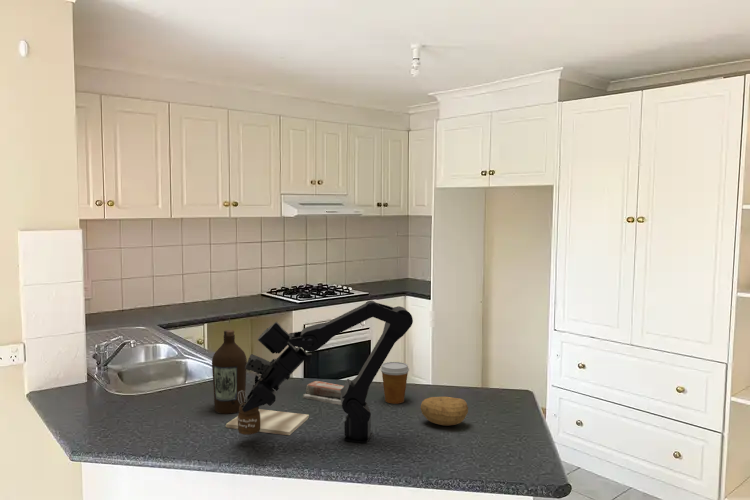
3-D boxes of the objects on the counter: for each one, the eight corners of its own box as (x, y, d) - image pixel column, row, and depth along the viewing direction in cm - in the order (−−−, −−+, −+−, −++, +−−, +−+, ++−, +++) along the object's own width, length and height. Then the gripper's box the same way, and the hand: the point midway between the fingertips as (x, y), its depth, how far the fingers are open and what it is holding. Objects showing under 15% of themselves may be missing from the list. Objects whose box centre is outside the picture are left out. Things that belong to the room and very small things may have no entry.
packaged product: (301, 385, 189) (317, 377, 198) (301, 399, 189) (317, 391, 198) (348, 393, 181) (363, 384, 190) (348, 408, 181) (362, 398, 190)
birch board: (308, 418, 171) (308, 414, 171) (289, 435, 157) (289, 432, 157) (249, 411, 176) (249, 408, 176) (225, 427, 163) (225, 424, 163)
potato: (422, 416, 173) (423, 390, 172) (469, 420, 169) (469, 394, 169) (417, 428, 163) (417, 401, 163) (466, 433, 160) (466, 405, 159)
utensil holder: (241, 426, 155) (240, 383, 154) (263, 426, 154) (263, 384, 154) (235, 435, 149) (234, 390, 148) (258, 435, 149) (258, 390, 148)
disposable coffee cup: (414, 402, 186) (415, 366, 185) (391, 407, 180) (391, 370, 180) (397, 394, 194) (397, 359, 193) (374, 399, 188) (374, 364, 187)
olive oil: (219, 402, 184) (218, 327, 182) (251, 403, 183) (250, 327, 182) (207, 414, 173) (206, 334, 172) (241, 415, 173) (240, 334, 171)
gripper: (265, 337, 160) (226, 377, 159) (261, 353, 141) (216, 399, 141) (293, 363, 161) (255, 403, 161) (293, 383, 143) (249, 427, 142)
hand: (244, 407), depth 151 cm, fingers closed on utensil holder, 5 cm apart
